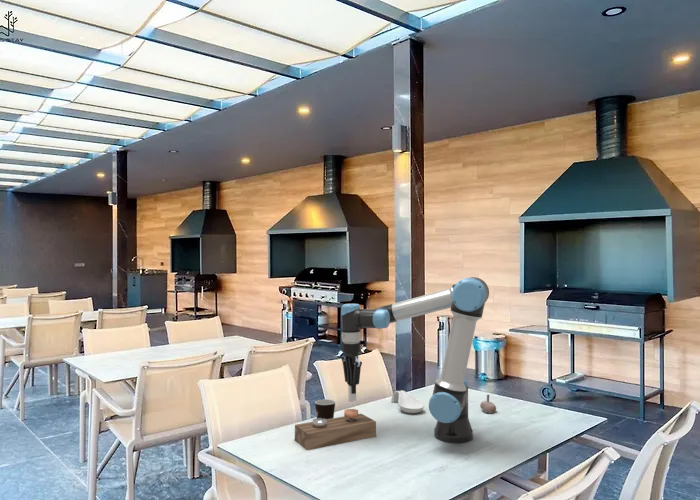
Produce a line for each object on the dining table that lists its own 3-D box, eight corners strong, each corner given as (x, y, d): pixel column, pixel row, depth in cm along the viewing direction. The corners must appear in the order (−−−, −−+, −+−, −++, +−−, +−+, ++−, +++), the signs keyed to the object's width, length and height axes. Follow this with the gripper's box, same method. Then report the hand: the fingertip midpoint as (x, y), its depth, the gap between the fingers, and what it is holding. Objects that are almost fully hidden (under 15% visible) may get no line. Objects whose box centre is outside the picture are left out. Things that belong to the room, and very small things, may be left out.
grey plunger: (329, 441, 198) (329, 421, 199) (316, 444, 196) (316, 423, 196) (323, 437, 203) (323, 417, 203) (310, 439, 201) (310, 419, 201)
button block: (376, 436, 205) (376, 421, 205) (307, 450, 190) (307, 433, 190) (361, 427, 215) (361, 413, 215) (294, 440, 201) (294, 424, 201)
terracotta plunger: (360, 431, 205) (360, 411, 205) (348, 434, 202) (348, 413, 203) (354, 427, 210) (353, 408, 210) (341, 429, 207) (341, 410, 208)
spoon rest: (428, 414, 235) (428, 398, 235) (405, 417, 230) (405, 401, 231) (405, 401, 257) (405, 386, 257) (383, 403, 253) (383, 388, 253)
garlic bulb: (483, 408, 243) (483, 391, 243) (499, 411, 239) (498, 394, 239) (477, 412, 237) (477, 395, 237) (493, 415, 233) (493, 397, 233)
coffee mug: (332, 429, 213) (332, 405, 213) (312, 428, 215) (312, 404, 215) (338, 421, 225) (338, 398, 225) (319, 419, 226) (319, 397, 226)
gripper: (335, 341, 211) (336, 398, 210) (350, 345, 199) (352, 406, 199) (351, 339, 214) (352, 396, 214) (367, 343, 203) (368, 403, 202)
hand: (352, 401), depth 206 cm, fingers closed
